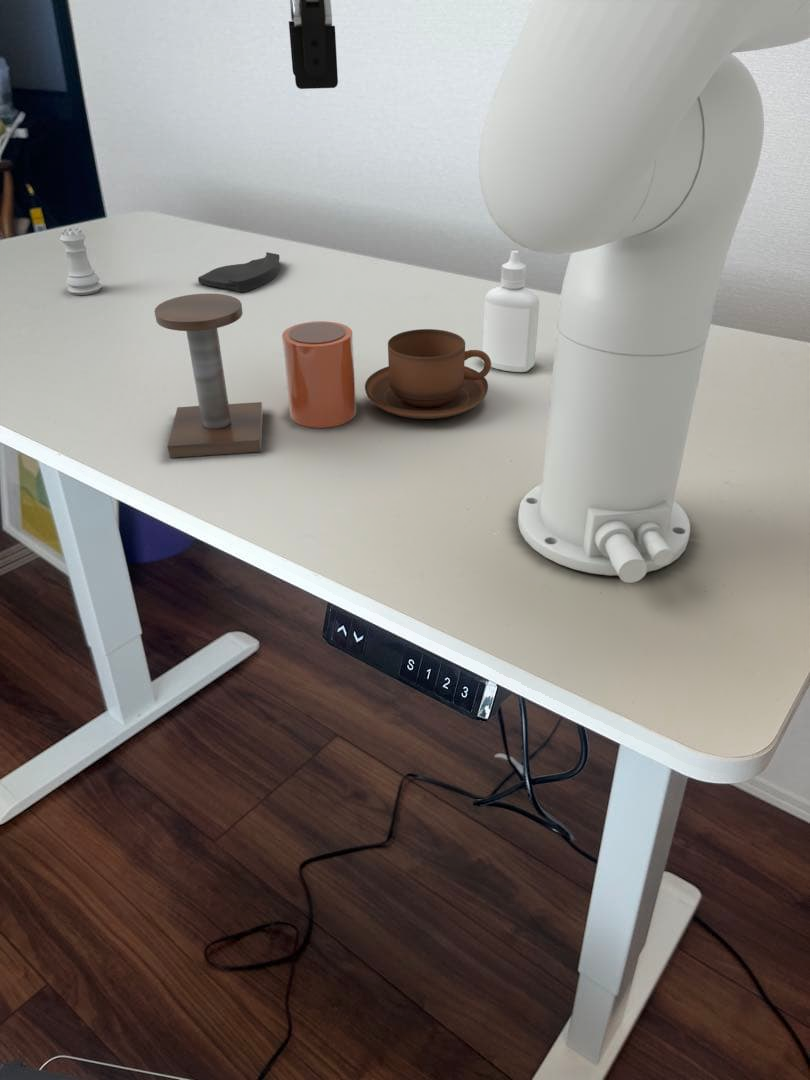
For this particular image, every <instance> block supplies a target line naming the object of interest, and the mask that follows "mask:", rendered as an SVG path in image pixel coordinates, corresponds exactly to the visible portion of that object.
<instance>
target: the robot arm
mask: <svg viewBox="0 0 810 1080" xmlns="http://www.w3.org/2000/svg"><path fill="white" fill-rule="evenodd" d="M331 1H332V0H289V5H290V6H289V7H290V19H291V20H289V21H288V30H289V41H290V42H289V43H290V55H291V67H292V74H293V75H294V82H295V86H296V88H298V89H299V90H310V89H312V90H313V89H316V90H317V89H335V88H337V86H338V85H339V77H338V58H337V57H338V56H337V38H336V37H337V36H336V25H333V15H332V14H333V13H332V12H333V11H332V4H331V3H332V2H331ZM808 39H810V0H533V1H532V3H531V6H530V8H529V10H528V13H527V14H526V17H525V20H524V22H523V24H522V25H521V28H520V31H519V33H518V36H517V37H516V40H515V42H514V44H513V47H512V49H511V51H510V54H509V56H508V57H507V60H506V62H505V65H504V67H503V69H502V72H501V74H500V76H499V79H498V81H497V84H496V86H495V88H494V91H493V93H492V96H491V99H490V102H489V104H488V109H487V111H486V114H485V118H484V122H483V126H482V131H481V135H480V142H479V151H478V152H479V153H478V174H479V175H478V176H479V183H480V189H481V193H482V196H483V201H484V204H485V206H486V209H487V212H488V213H489V216H490V217H491V220H493V222H494V224H495V225H496V227H497V228H498V229H499V230H500V232H502V233H503V234H504V235H505V236H506V237H507V238H508V239H510V240H511V241H512V242H514V243H515V244H517V245H519V246H520V247H522V248H524V249H527V250H530V251H532V252H536V253H540V254H546V255H547V254H548V255H566V254H570V256H569V259H568V262H567V266H566V270H565V273H564V278H563V281H562V287H561V291H560V298H559V307H558V315H557V324H556V333H555V342H554V343H555V346H554V353H553V354H554V356H553V365H552V375H551V386H550V395H549V396H550V397H549V406H548V417H547V428H546V439H545V449H544V451H545V452H544V458H543V459H544V460H543V469H542V479H541V481H542V482H541V483H540V484H539V485H535V487H533V488H532V489H531V490H529V491H528V492H527V493H526V494H525V495H524V497H522V499H521V501H520V503H519V508H518V514H517V525H518V529H519V532H520V534H521V536H522V537H523V539H524V541H525V542H526V543H527V544H528V545H529V546H530V547H531V548H532V549H533V550H534V551H536V553H538V554H540V555H541V556H543V557H544V558H545V559H547V560H550V561H552V562H554V563H556V564H557V565H561V566H563V567H566V568H569V569H571V570H575V571H578V572H583V573H588V574H592V575H602V576H618V577H619V579H620V581H622V582H624V583H625V584H633V583H637V582H639V581H640V580H642V579H643V578H645V576H646V574H647V573H650V572H653V571H657V570H659V569H662V568H664V567H666V566H668V565H671V564H672V563H673V562H675V561H676V560H678V559H679V558H680V557H681V556H682V554H683V553H684V552H685V551H686V549H687V545H688V542H689V539H690V533H691V525H690V524H691V522H690V519H689V517H688V515H687V513H686V512H685V510H684V509H683V508H682V506H680V504H679V503H678V502H677V501H676V500H675V497H676V493H677V487H678V483H679V477H680V473H681V468H682V464H683V463H682V462H683V458H684V452H685V448H686V443H687V439H688V434H689V428H690V423H691V419H692V413H693V409H694V405H695V404H694V403H695V400H696V399H695V398H696V395H697V394H696V393H697V389H698V384H699V379H700V375H701V370H702V369H701V368H702V366H703V365H702V364H703V361H704V355H705V350H706V345H707V340H708V338H709V333H710V328H711V323H712V319H713V314H714V309H715V304H716V300H717V296H718V290H719V287H720V283H721V279H722V275H723V272H724V271H723V270H724V266H725V263H726V260H727V256H728V253H729V250H730V246H731V244H732V241H733V238H734V234H735V233H736V230H737V227H738V224H739V221H740V218H741V216H742V214H743V211H744V208H745V205H746V203H747V200H748V197H749V194H750V192H751V189H752V185H753V182H754V180H755V177H756V173H757V170H758V166H759V161H760V157H761V153H762V150H763V149H762V147H763V144H764V132H765V116H764V106H763V102H762V97H761V93H760V89H759V87H758V85H757V83H756V81H755V78H754V76H753V75H752V73H751V72H750V70H749V69H748V68H747V66H746V65H745V64H744V63H743V62H742V61H741V60H740V59H739V58H738V57H737V56H736V55H734V53H735V54H736V53H745V52H752V51H753V52H754V51H760V50H767V49H774V48H777V47H785V46H789V45H793V44H796V43H797V44H798V43H800V42H803V41H806V40H808Z"/></svg>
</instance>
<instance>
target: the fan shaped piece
mask: <svg viewBox="0 0 810 1080" xmlns="http://www.w3.org/2000/svg"><path fill="white" fill-rule="evenodd" d="M280 269H281V263H280V254H277V253H273V252H266V253H265V256H264V257H262V258H258V259H252V260H250V261H248V262H245V263H237V264H229V265H224V266H220V267H219V266H218V267H217V268H213V269H212V270H210V271H208V272H206V273H204V274H202V275H200V276H198V279H197V281H198V283H199V284H201V285H205V286H209V287H214V288H219V289H224V290H230V291H235V292H238V293H246V292H248V291H251V290H254V289H258V288H259V287H261V286H264V285H266V284H268V283H270V282H271V281H272V280H273V279H274V278H275V277H276V276H277V275H278V274H279V272H280Z"/></svg>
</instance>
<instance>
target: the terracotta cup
mask: <svg viewBox="0 0 810 1080" xmlns="http://www.w3.org/2000/svg"><path fill="white" fill-rule="evenodd" d="M281 340H282V351H283V358H284V368H285V369H284V370H285V378H286V388H287V389H286V390H287V398H288V407H289V408H288V409H289V416H290V419H291V421H293V422H294V423H295V424H297V425H299V426H301V427H302V426H303V427H306V428H314V429H326V428H327V429H328V428H333V427H338V426H342V425H344V424H346V423H349V422H351V421H352V420H354V418H355V417H356V415H357V396H356V377H355V358H354V337H353V330H352V328H350V326H348V325H347V324H346V325H345V324H343V323H340V322H335V321H324V320H323V321H321V320H320V321H319V320H318V321H308V322H302V323H299V324H294V325H292V326H289V327H288V328H286V329H285V330H284V331H283V332H282V334H281Z"/></svg>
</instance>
